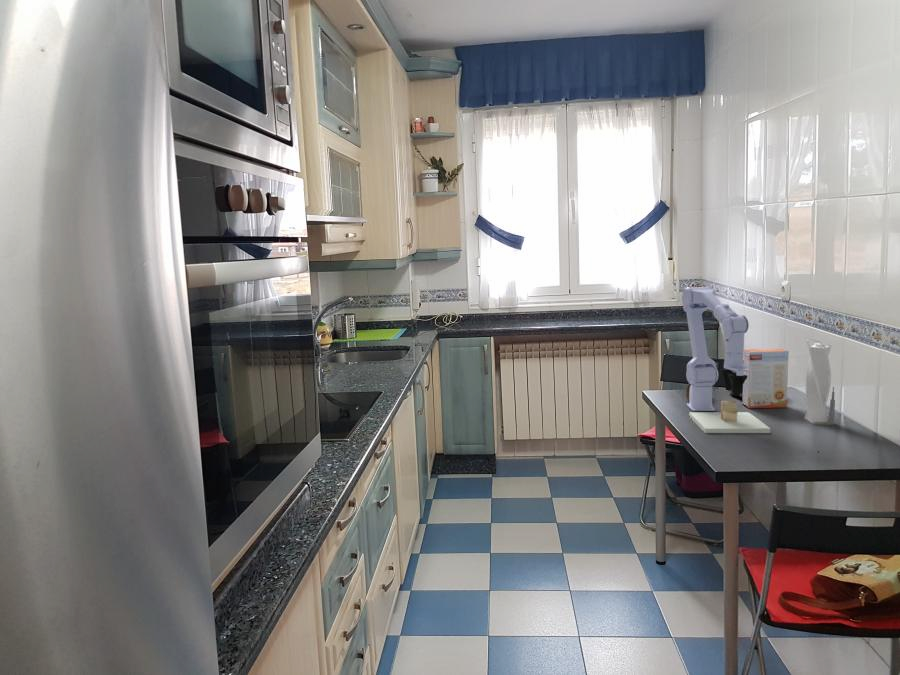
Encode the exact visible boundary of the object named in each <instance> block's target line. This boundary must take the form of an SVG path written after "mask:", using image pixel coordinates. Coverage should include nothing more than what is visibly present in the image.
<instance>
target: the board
mask: <svg viewBox="0 0 900 675" xmlns="http://www.w3.org/2000/svg"><path fill="white" fill-rule="evenodd" d="M688 416H690V417H689V418H690V419H691V418H692V419H691V420H692V421H693V422H694V423H695V424H696V426H698V428H699V429H701V431H703V433H704V434H771V428H770V427H769V426H767V425H766V424H765V423H764V422H762V421H761V420H760V419H759V418H757V417H756V416H754V415H753V414H752V413H750V412H748V411H747V412H746V411H745V412H744V411H743V412H742V411H741V412H740V411H737V422H724V421H723V420H722V419H721V411H720V412H719V411H718V412H717V411H692V412H689V413H688Z"/></svg>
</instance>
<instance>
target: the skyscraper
mask: <svg viewBox="0 0 900 675" xmlns="http://www.w3.org/2000/svg"><path fill="white" fill-rule="evenodd" d="M809 342H814V343H813V345H811V344H810V343H809ZM806 343H807V347H808V352H809V358H808V363H807V366H806V371H805V382H804V385H805V387H804V388H805V399H806V405H807V410H806V413H805V415H804V418H803V419H804V420H805V421H807V422H808V423H811V424H812V425H813V426H814V425H817V426H819V425H824V426H825V425H836V423H835V414H836V413H835V411H836V410H835V408H836V399H835V386H832V391H831V399H830V401H829V402H830V403H829V412H828V418H827V415H826V411H825V408H826V406H827V402H828V398H829V394H830V390H831V382H832V372H831V364H830V358H829V355H830V352H831V349H832V344H829V343H826V342H821V341H819V340H816V339H807V340H806ZM810 345H811V346H810Z"/></svg>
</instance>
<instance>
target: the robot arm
mask: <svg viewBox="0 0 900 675" xmlns="http://www.w3.org/2000/svg"><path fill="white" fill-rule="evenodd" d="M681 302H682V308H683V311H684V312H685V313H686V319H687V325H688V326H687V327H688V332H689V339H690V345H691V346H690V347H691V355H692V358H691V359H690V361H688V363H687V364H686V373H685V376H686V380H687V382H688V383H690V384H691V386H690V390H689V401H688V403H686V406H687V407H688V408H689V409H691V411H692V412H716V408H714V407H713V386H715V384H716V382H717V381H718V380H719V375H720V374H719V371H720V373H721V375H722V377H723V384H724V390H725V391H728V390H732V396H734V397H735V396H737V397H740V393H741V390H742V386H743V384H744V382H745V380H746V379H747V375H744V370H743V368H747V366H746V365H743V362H744V350H745V334H746V333H747V332H748V330H749V319H748V318H747V317H746V315H744V314H743V315H740V314H737V313H736V312H735V310H733V309H732V308H731V307H730V304H727V303H726V304H725V303H722V302H721V301H720V300H719V299H718V297H717V296H716V291H715V289H714V288H713V287H712V286H698V287H696V286H694V287H689V286H687V287H685V288H684V289H683V291H682V294H681ZM708 309H710V310H711V311H712V312H713V316H714V318H715V319H716V320H717V322H719V323H720V324H721V327H722V332H723V338H724V339H725V340H724V342H725V343H724V361H723V368H720V369H719V371H718V368H717V365H716V361H714V359H712V358H710V357H709V355H708V348H707V342H706V341H707V340H706V334H705V328H704V321H703V320H704V319H703V313H704V312H706V311H707V310H708Z"/></svg>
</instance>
